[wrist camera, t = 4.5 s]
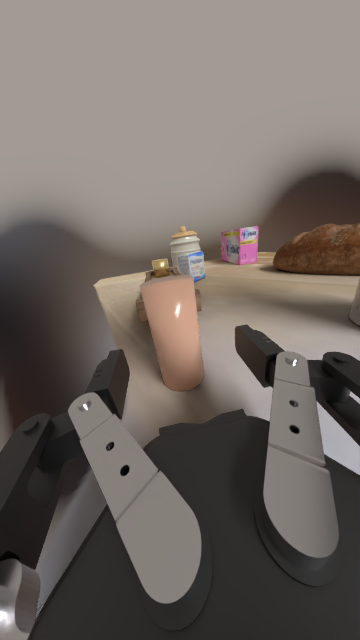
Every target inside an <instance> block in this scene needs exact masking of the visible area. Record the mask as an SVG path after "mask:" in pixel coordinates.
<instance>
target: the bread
mask: <svg viewBox="0 0 360 640" xmlns="http://www.w3.org/2000/svg"><path fill="white" fill-rule="evenodd" d="M273 265H274V267H275V268H276V269H280V270H285V271H290V272H296V273H311V274H335V275H360V223H357V224H355V225H348V224H344V225H340V226H338V225H335V224H326V225H322V226H319V227H317V228H316V229H314V230H312V231H311V232H304V233H300V234H299V235H297V236H296V237H293V238H291V239H290V240H289V241H288V242H286V243H285V244H284V245H283V246H282V247H281V248H280V249H279V250H278V251H277V253H276V255H275V257H274V260H273Z"/></svg>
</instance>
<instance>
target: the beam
mask: <svg viewBox="0 0 360 640" xmlns="http://www.w3.org/2000/svg"><path fill="white" fill-rule="evenodd" d="M169 271H170V275H169V276H173V275H181V274H180V273H179V272H178V270H177V267H173V268H169ZM145 273H146V279H145V282H147V281H149V280H153V279H156V278H155V275H154V271H149V272H145ZM195 297H196V306H197V312H198V311H201V302H200V292H199V290H195ZM136 306H137V310H138V314H139V317H140V321H141V322H144V321H148V318H147V314H146V309H145V305H144V301H143V297H142V294H141V297H140V300H136Z"/></svg>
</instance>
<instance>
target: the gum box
mask: <svg viewBox="0 0 360 640" xmlns="http://www.w3.org/2000/svg"><path fill="white" fill-rule="evenodd" d="M221 248H222V249H221V252H222V260H224V261H227V262H230V263H234V264H238V265H243V264H249V263H254V262H257V248H258V226H253V227H248V228H241V229H235V230H230V231H224V232H221Z"/></svg>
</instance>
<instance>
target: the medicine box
mask: <svg viewBox="0 0 360 640" xmlns="http://www.w3.org/2000/svg"><path fill="white" fill-rule="evenodd" d="M177 257H178V264H179V271H180V274H181V275H190V276H192V277H193V280H194V282H197V281H199V280H201V279H203V278H205V270H204V259H203V252H202V251H197V252H192V253H188V254H184V255H180V256H177Z"/></svg>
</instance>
